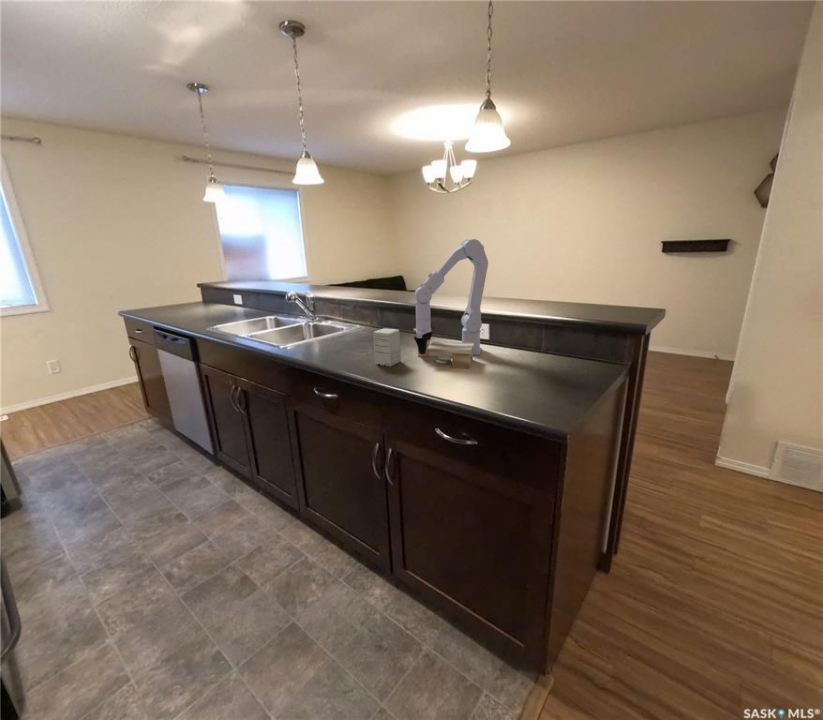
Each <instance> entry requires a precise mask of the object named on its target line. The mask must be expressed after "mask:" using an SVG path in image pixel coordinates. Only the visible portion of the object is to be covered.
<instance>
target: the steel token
mask: <svg viewBox="0 0 823 720" xmlns="http://www.w3.org/2000/svg"><path fill="white" fill-rule="evenodd" d="M435 363H436V364H438V365H448V364H451V363H452V357H443V356H436V357H435Z"/></svg>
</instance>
